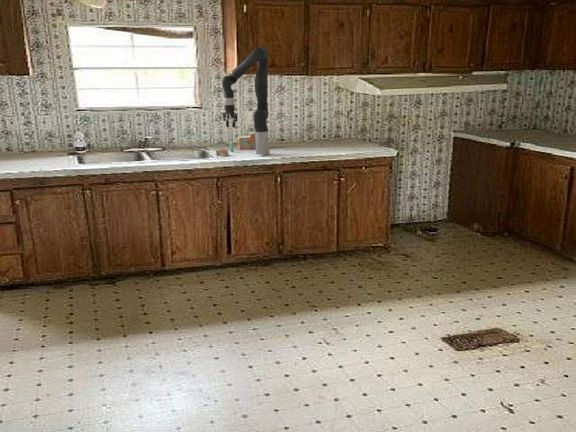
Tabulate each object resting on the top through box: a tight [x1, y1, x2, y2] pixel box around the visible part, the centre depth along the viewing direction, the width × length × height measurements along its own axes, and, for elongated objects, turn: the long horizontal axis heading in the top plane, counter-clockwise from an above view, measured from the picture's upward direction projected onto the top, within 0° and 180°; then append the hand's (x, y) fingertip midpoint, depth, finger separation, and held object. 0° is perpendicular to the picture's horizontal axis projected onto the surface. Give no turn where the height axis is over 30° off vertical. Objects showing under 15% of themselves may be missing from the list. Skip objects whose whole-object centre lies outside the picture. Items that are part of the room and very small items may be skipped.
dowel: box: [229, 140, 235, 153], centre depth 412 cm, size 2×2×9 cm
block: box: [217, 148, 229, 157], centre depth 399 cm, size 5×5×4 cm
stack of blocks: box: [237, 131, 256, 150], centre depth 432 cm, size 21×6×12 cm, turn 102°
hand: (230, 127), depth 408 cm, fingers open, 6 cm apart
